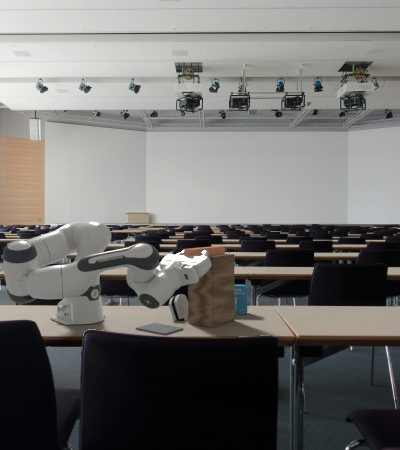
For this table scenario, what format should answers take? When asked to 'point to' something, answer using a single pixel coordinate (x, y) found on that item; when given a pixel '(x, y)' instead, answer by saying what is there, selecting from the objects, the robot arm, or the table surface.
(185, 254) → the pin
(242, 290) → the data package
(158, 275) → the robot arm
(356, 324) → the table surface
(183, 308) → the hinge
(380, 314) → the table surface
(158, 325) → the mat
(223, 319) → the brown block
